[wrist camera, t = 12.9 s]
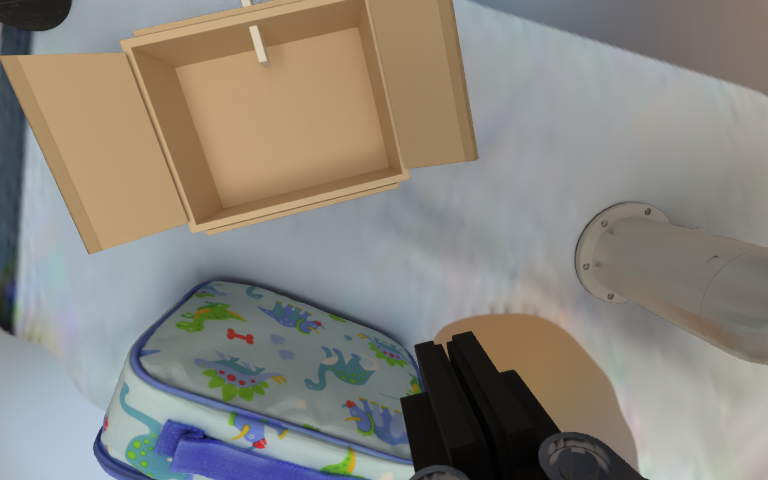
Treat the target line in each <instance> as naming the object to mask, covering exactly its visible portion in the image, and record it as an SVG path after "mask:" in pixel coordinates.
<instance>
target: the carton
mask: <svg viewBox="0 0 768 480" xmlns="http://www.w3.org/2000/svg"><path fill="white" fill-rule="evenodd" d="M241 2H242V5H243V7H241V8H237V9H232V10H227V11H223V12H218V13H214V14H209V15H204V16H200V17H195V18H191V19H186V20H181V21H177V22H172V23H168V24H163V25H158V26H154V27H149V28H145V29H140V30H135V31H133V33H134V35H135V37H134V38H130V39H125V40H121V41H120V44H121V46H122V49H123V52H125V55H126V58H127V60H128V63H129V65H130V68H131V71H132V73H133V76H134V79H135V81H136V84H137V87H138V89H139V92H140V95H141V97H142V100H143V103H144V105H145V108H146V111H147V113H148V116H149V119H150V121H151V124H152V127H153V129H154V132H155V135H156V137H157V140H158V143H159V145H160V148H161V151H162V153H163V156H164V159H165V161H166V164H167V167H168V169H169V172H170V175H171V177H172V180H173V183H174V185H175V188H176V191H177V193H178V196H179V199H180V201H181V204H182V207H183V209H184V212H185V215H186V217H187V220H188V225H189V227H190V230H191V233H196V232H200V231H204V230H207V231H206V232H207V235H211V234H215V233H219V232H223V231H227V230H231V229H235V228H239V227H243V226H247V225H251V224H255V223H259V222H263V221H267V220H271V219H275V218H279V217H283V216H287V215H291V214H295V213H299V212H303V211H307V210H311V209H315V208H319V207H323V206H327V205H331V204H335V203H339V202H343V201H347V200H351V199H355V198H359V197H363V196H367V195H371V194H375V193H379V192H383V191H387V190H391V189H395V188H399V183H398V182H400V181H404V180H408V179H411V177H410V173H409V169H405V165H404V160H403V156H402V151H401V146H400V142H399V137H398V133H397V128H396V123H395V119H394V114H393V109H392V105H391V100H390V95H389V91H388V86H387V81H386V77H385V72H384V68H383V63H382V58H381V54H380V49H379V44H378V40H377V35H376V30H375V26H374V21H373V16H372V12H371V7H370V3H369V0H273V1H269V2H264V3H260V4H255V5H254V3H253V0H241Z"/></svg>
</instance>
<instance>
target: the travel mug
mask: <svg viewBox="0 0 768 480" xmlns="http://www.w3.org/2000/svg"><path fill="white" fill-rule="evenodd" d="M70 7H71V0H0V22H2V23H5V24H8V25H11V26H14V27H18V28H21V29H25V30H30V31H44V30H49V29H52V28H54V27H56V26H57V25H59V24H60V23H61V22H62V21H63V20H64V19H65V18H66V16H67V14H68V13H69V10H70Z"/></svg>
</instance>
